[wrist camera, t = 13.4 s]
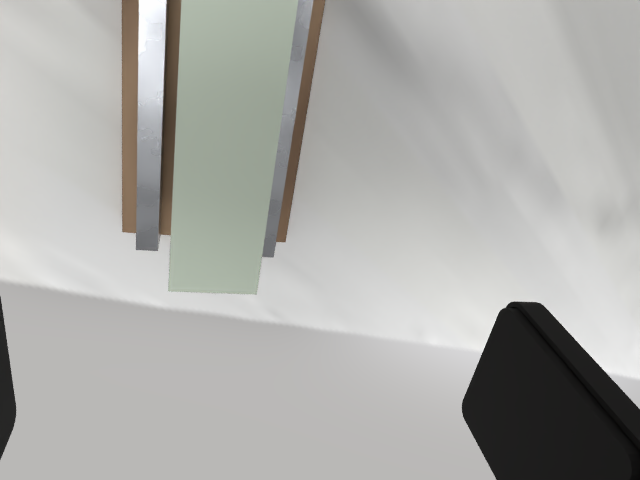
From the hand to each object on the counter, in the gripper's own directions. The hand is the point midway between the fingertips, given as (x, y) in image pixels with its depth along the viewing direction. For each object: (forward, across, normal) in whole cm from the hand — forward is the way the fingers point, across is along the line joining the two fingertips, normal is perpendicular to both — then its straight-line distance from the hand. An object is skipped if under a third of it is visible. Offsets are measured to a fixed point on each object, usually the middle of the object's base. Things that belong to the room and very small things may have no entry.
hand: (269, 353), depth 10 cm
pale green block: (+21, 0, 0) cm, 21 cm away
